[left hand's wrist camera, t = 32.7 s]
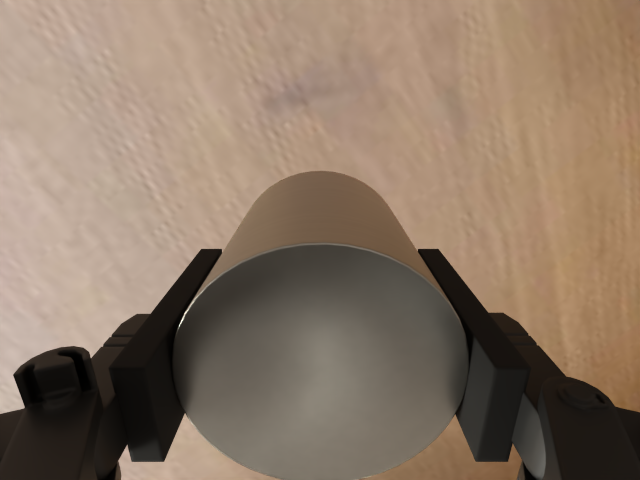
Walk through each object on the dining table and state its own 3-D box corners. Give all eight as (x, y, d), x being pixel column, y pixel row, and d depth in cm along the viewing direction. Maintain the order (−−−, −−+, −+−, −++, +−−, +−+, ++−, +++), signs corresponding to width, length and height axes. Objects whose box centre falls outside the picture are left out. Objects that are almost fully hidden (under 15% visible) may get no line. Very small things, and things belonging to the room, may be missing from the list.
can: (306, 134, 15) (293, 172, 7) (434, 240, 17) (533, 362, 9) (208, 261, 17) (116, 397, 9) (330, 344, 19) (338, 519, 11)
